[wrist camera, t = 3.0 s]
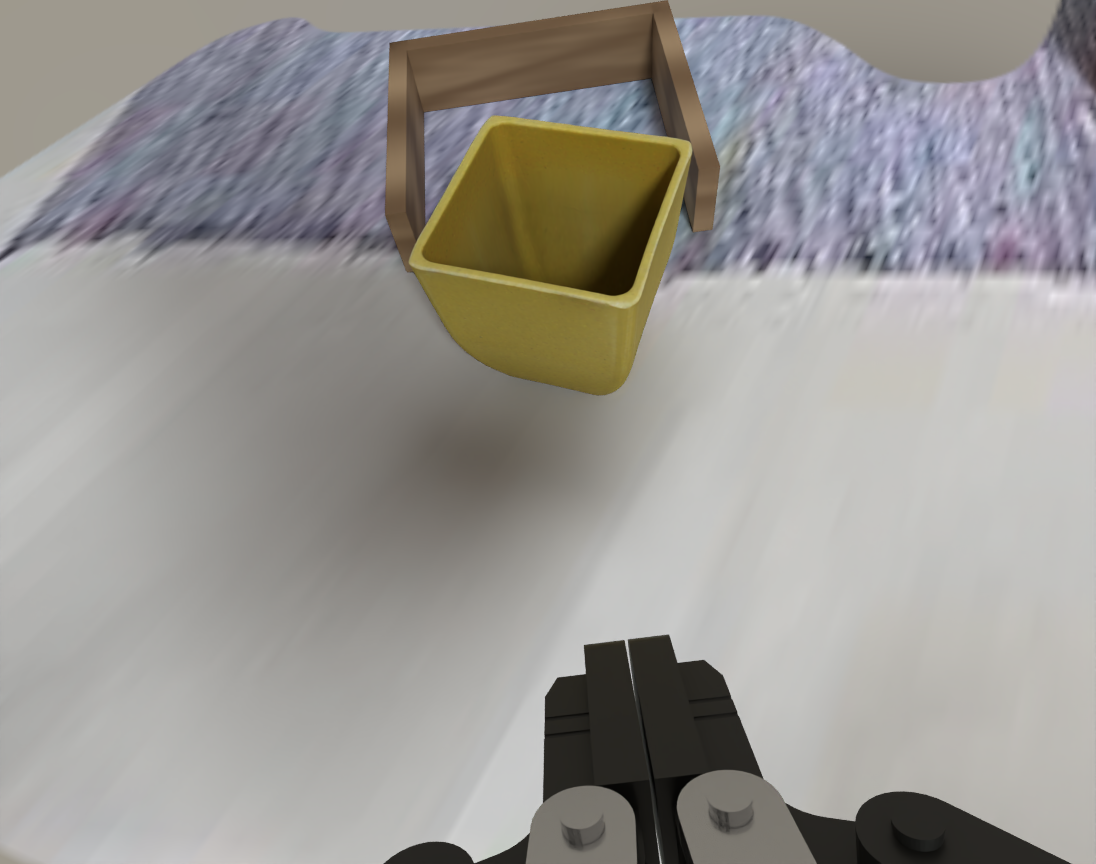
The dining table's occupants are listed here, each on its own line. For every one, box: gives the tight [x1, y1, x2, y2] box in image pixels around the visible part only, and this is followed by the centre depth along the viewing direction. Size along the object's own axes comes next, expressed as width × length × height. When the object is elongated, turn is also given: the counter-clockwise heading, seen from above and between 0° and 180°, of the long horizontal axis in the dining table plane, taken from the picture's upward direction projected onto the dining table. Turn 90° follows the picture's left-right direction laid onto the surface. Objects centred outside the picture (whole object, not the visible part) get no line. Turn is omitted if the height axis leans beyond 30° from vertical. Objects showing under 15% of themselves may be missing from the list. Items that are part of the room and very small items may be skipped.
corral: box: [385, 0, 720, 272], centre depth 41 cm, size 14×16×4 cm
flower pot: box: [409, 116, 692, 395], centre depth 32 cm, size 9×9×9 cm
